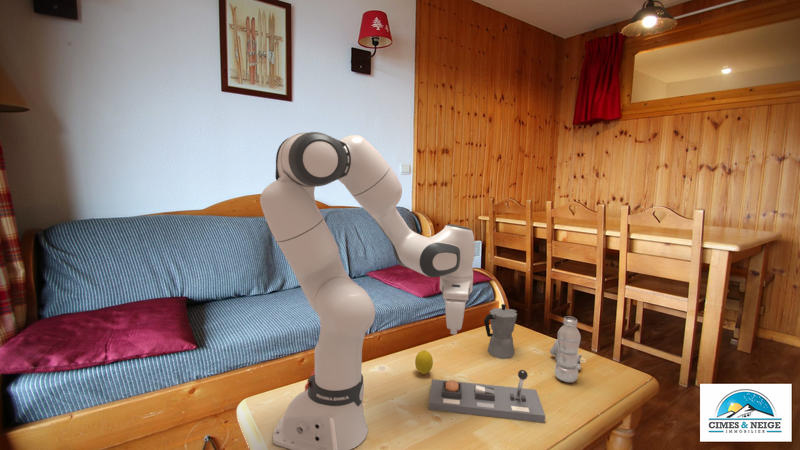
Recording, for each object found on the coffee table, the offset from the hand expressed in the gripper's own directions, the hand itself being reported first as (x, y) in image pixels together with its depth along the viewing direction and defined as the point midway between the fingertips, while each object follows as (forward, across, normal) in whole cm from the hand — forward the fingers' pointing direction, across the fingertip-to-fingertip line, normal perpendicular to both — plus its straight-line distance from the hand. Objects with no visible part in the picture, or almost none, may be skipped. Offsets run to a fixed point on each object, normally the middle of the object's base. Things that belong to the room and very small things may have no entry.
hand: (453, 332), depth 106 cm
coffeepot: (+20, -31, +16) cm, 40 cm away
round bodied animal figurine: (+20, -27, +38) cm, 51 cm away
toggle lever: (+17, 0, +18) cm, 25 cm away
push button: (+17, 0, 0) cm, 17 cm away
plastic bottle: (+20, -17, +35) cm, 44 cm away
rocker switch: (+16, 0, +9) cm, 19 cm away
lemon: (+20, -12, -9) cm, 25 cm away
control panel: (+20, 0, +9) cm, 22 cm away
